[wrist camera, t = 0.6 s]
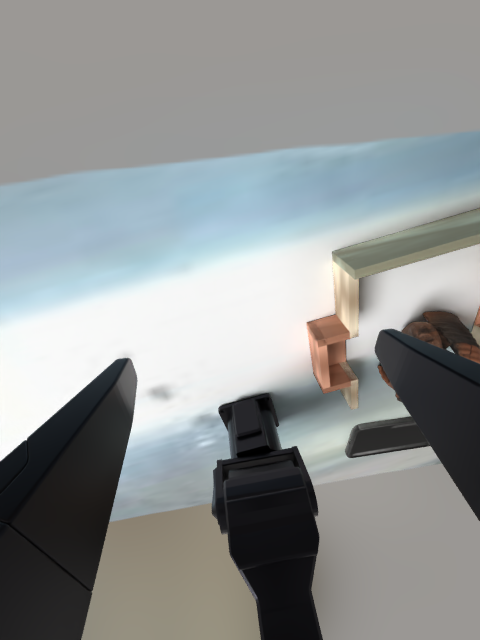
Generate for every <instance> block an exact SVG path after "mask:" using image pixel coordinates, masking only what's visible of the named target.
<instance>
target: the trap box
mask: <svg viewBox="0 0 480 640" xmlns="http://www.w3.org/2000/svg"><path fill="white" fill-rule="evenodd" d="M476 244H480V208H479V209H475V210H472V211H469V212H465V213H462V214H458V215H455V216H452V217H448V218H445V219H441V220H438V221H435V222H431V223H428V224H425V225H421V226H418V227H414V228H411V229H408V230H404V231H401V232H397V233H394V234H391V235H387V236H384V237H381V238H377V239H374V240H370V241H367V242H364V243H360V244H357V245H353V246H350V247H347V248H343V249H340V250H336V251H333V252H332V259H333V276H334V294H335V311H336V314H335V315H332V316H328V317H325V318H321V319H318V320H314V321H311V322H307V330H308V337H309V344H310V351H311V359H312V366H313V373H314V376H315V378H316V380H317V382H318V384H319V386H320V388H321V390H322V392H323V394H325V393H328V392H332V391H336V390H339V389H340V391H341V392H342V394H343V396H344V398H345V399H346V401H347V403H348V405H349V406H350V408H351V410H352V409H356V408H358V378H357V377H356V375H355V374H354V372H353V371H352V369H351V368H350V366H349V365H348V363H347V362H346V346H345V340H347V339H351V338H354V337H358V316H359V278H363V277H366V276H370V275H373V274H376V273H380V272H383V271H387V270H390V269H394V268H397V267H401V266H404V265H407V264H411V263H414V262H418V261H421V260H425V259H428V258H432V257H435V256H438V255H442V254H445V253H449V252H452V251H456V250H459V249H463V248H466V247H470V246H473V245H476ZM471 334H472V335H473V338H475V339H476V342H477V344H478V345H479V346H480V307H479V310H478V313H477V316H476V319H475V322H474V326H473V329H472V332H471Z"/></svg>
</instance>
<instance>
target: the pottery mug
mask: <svg viewBox="0 0 480 640" xmlns="http://www.w3.org/2000/svg"><path fill="white" fill-rule="evenodd" d="M423 316H424V318H425V319H426V320H427V321H428V322H412V323H410V324H409V325H407V326H406V327H405V328H404V329H403V330H402V331H401V332H402V333H404V334H407V335H409V336H412V337H414V338H417V339H419V340H422V341H424V342H427V343H429V344H432V345H434V346H437V347H439V348H442V349H444V350H446V348H447V347H449V346H450V347H451V348H452V350H453V351H454V353H455V354H457V355H459V356H462V357H464V358H467V359H469V360H472V361H474V362H477V363H479V364H480V346H479V345H478V344H477V342H476V339H475V338H473V335H472V334H471V333H470V331H469V329H468V328H466V327H465V326H464V325H463V324H462V322H461V321H460V320H459V318H458V317H457V316H456V315H454V314H452V313H447V312H442V311H436V312H434V311H433V312H425V313H423ZM378 369H379V373H380V374H381V376H382V379H383V380H384V381H385V382H386V383H387V384H388V386H390V387H391V388H392V389H394V388H393V387H392V385H391V383H390V381H389V379H388V377H387V375H386V373H385V371H384V369H383V367H382V366H380V365H378ZM395 396H396V397H397V400H398V401H401V399H400V398H399V396H398V395H397V393H396V395H395ZM401 402H402V401H401Z"/></svg>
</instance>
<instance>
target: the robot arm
mask: <svg viewBox="0 0 480 640" xmlns="http://www.w3.org/2000/svg"><path fill="white" fill-rule="evenodd" d="M375 353H376V355H377V357H378V359H379V361H380V363H381V365H382V367H383V369H384V371H385V373H386V375H387V377H388V379H389V381H390V383H391V385H392V387H393V388H394V390H395V392H396V393H397V395H398V396H399V398H400V399H401V401H402V403H403V404H404V406H405V407H406V409H407V410H408V412H409V413H410V415H411V416H412V418H413V419H414V421H415V423H416V424H417V426H418V427H419V429H420V430H421V432H422V433H423V435H424V436H425V438H426V439H427V441H428V443H429V444H430V446H431V447H432V449H433V450H434V452H435V453H436V455H437V456H438V458H439V459H440V461H441V463H442V464H443V465H444V467H445V469H446V470H447V472H448V473H449V475H450V476H451V478H452V479H453V481H454V483H455V484H456V486H457V487H458V489H459V490H460V492H461V493H462V495H463V496H464V498H465V500H466V501H467V503H468V504H469V506H470V507H471V509H472V510H473V512H474V513H475V515H476V516H477V518H478V520H479V521H480V364H479V363H477V362H474V361H472V360H469V359H467V358H464V357H462V356H459V355H457V354H454V353H452V352H449V351H447V350H444V349H442V348H439V347H437V346H434V345H432V344H429V343H427V342H424V341H422V340H419V339H417V338H414V337H412V336H409V335H407V334H404V333H402V332H400V331H397V330H395V329H385V330H381V331H380V332H379V335H378V338H377V342H376V345H375ZM136 389H137V375H136V372H135V369H134V366H133V363H132V361H131V359H130V358H122V359H117V360H116V361H114V362H113V363H112V364H111V365H110V366H109V367H108V368H106V369H105V370H104V371H103V372H102V373H101V374H100V375H99V376H97V377H96V378H95V379H94V380H93V381H92V382H91V383H89V384H88V385H87V386H86V387H85V388H84V389H83V390H81V391H80V392H79V393H78V394H77V395H76V396H75V397H73V398H72V399H71V400H70V401H69V402H68V403H67V404H66V405H64V406H63V407H62V408H61V409H60V410H59V411H58V412H56V413H55V414H54V415H53V416H52V417H51V418H50V419H48V420H47V421H46V422H45V423H44V424H43V425H42V426H40V427H39V428H38V429H37V430H36V431H35V432H34V433H32V434H31V435H30V436H29V437H28V438H27V440H25V441H23V442H22V443H21V444H20V445H19V446H18V447H16V448H15V449H14V450H13V451H12V452H11V453H10V454H8V455H7V456H6V457H5V458H4V459H2V460H1V461H0V640H81V638H82V634H83V630H84V625H85V621H86V617H87V612H88V609H89V605H90V600H91V595H92V592H91V591H92V590H93V587H94V583H95V579H96V574H97V570H98V566H99V562H100V557H101V553H102V549H103V545H104V541H105V536H106V532H107V528H108V524H109V520H110V516H111V511H112V507H113V503H114V499H115V495H116V490H117V486H118V482H119V478H120V474H121V469H122V465H123V461H124V457H125V453H126V448H127V444H128V440H129V436H130V432H131V427H132V422H133V415H134V406H135V397H136ZM218 411H219V414H220V416H221V418H222V420H223V422H224V424H225V426H226V428H227V430H228V433H229V443H230V453H231V459H227V460H222V459H221V460H217V468H216V469H214V470H213V477H214V490H213V500H212V515H213V516H214V517H215V518H216V519H217V520H218V524H219V525H220V530H221V533H222V534H227V533H228V543H229V552H230V556H231V558H232V560H233V561H234V563H235V564H236V566H237V568H238V570H239V572H240V573H241V575H242V577H243V579H244V580H245V582H246V584H247V586H248V587H249V589H250V591H251V593H252V595H253V596H254V598H255V600H256V603H257V611H258V619H259V626H260V635H261V640H323V639H322V634H321V630H320V626H319V622H318V617H317V613H316V609H315V605H314V600H313V596H312V591H311V587H312V581H313V575H314V568H315V562H316V556H317V553H318V545H319V533H318V529H317V525H316V521H315V516H318V506H317V500H316V496H315V492H314V489H313V485H312V482H311V479H310V476H309V474H308V472H307V469H306V467H305V465H304V462H303V460H302V457H301V455H300V453H299V450H298V448H297V446H294V447H292V448H288V449H282V448H281V444H280V440H279V437H278V433H277V429H276V427H278V426H279V423H278V420H277V416H276V413H275V409H274V406H273V403H272V399H271V396H270V394H264V395H260V396H257V397H253V398H249V399H246V400H242V401H238V402H235V403H231V404H228V405H224V406H221V407H219V408H218Z"/></svg>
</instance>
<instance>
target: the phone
mask: <svg viewBox="0 0 480 640" xmlns="http://www.w3.org/2000/svg"><path fill="white" fill-rule="evenodd" d="M350 440H351V441H350ZM349 442H350V443H349ZM427 446H430V444H429V443H428V441H427V439H426V438H425V436H424V435H423V433H422V432H421V430H420V429H419V427H418V426H417V424H416V423H415V421H414V419H413V418H412V417H406V418H399V419H392V420H385V421H378V422H371V423H364V424H359V425H356V426H355V427H354V428H353V429H352V431H351V434H350V437H349V440H348V443H347V446H346V449H345V453H346V455H347V457H349V458H356V457H362V456H369V455H375V454H381V453H388V452H394V451H401V450H407V449H414V448H420V447H427Z"/></svg>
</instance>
